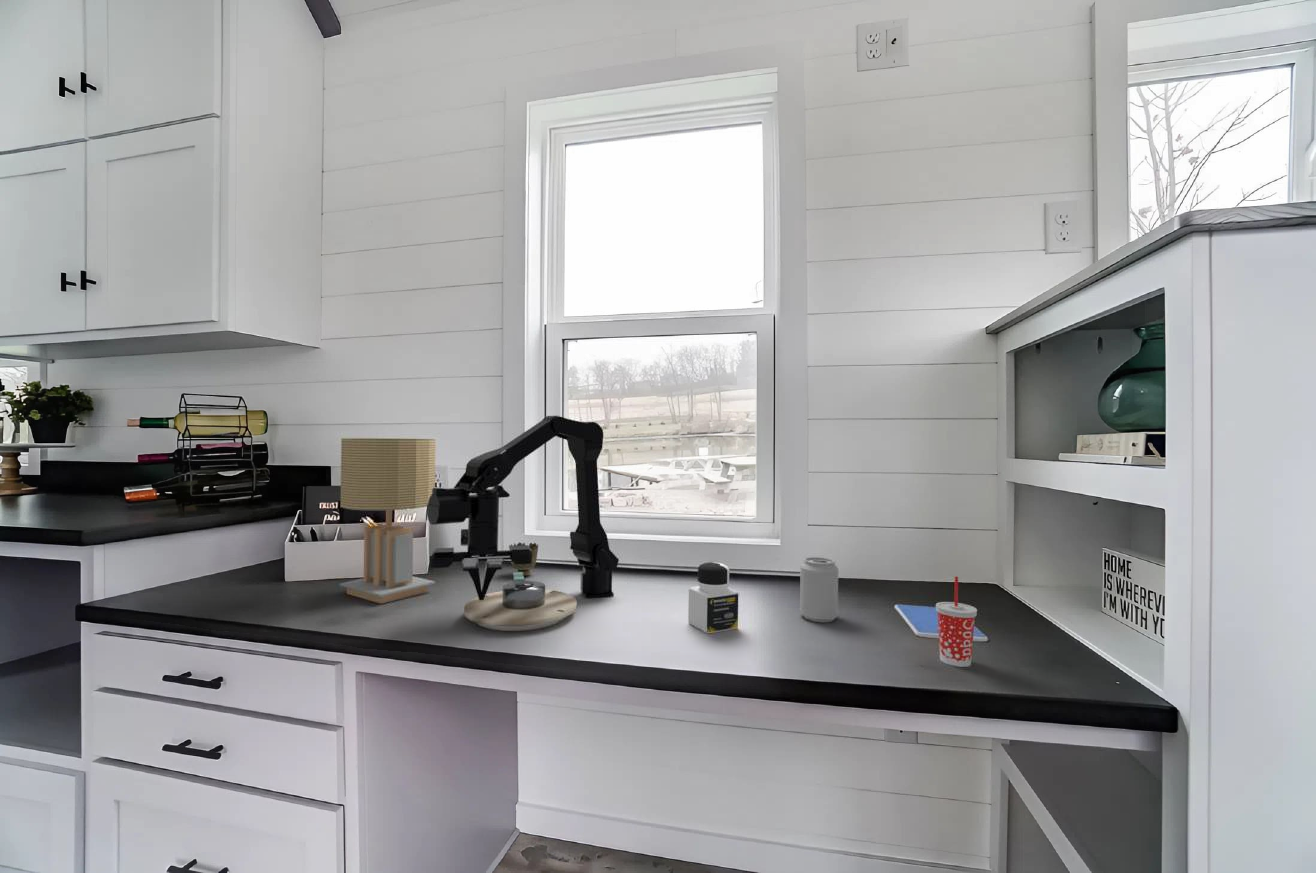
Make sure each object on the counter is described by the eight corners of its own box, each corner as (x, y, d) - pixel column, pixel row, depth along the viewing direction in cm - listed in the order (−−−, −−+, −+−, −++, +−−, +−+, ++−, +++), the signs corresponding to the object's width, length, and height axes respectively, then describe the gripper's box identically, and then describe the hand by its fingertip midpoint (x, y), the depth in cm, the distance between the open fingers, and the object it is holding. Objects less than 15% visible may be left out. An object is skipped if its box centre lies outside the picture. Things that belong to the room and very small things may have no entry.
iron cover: (553, 601, 117) (553, 581, 117) (525, 612, 109) (525, 591, 109) (522, 595, 121) (522, 576, 121) (493, 605, 113) (493, 585, 113)
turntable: (597, 602, 120) (597, 583, 120) (527, 634, 100) (527, 611, 100) (517, 588, 130) (517, 570, 130) (439, 614, 111) (439, 593, 111)
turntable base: (560, 600, 126) (560, 593, 126) (573, 626, 109) (573, 618, 109) (474, 606, 121) (474, 599, 121) (474, 634, 104) (474, 627, 104)
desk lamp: (451, 590, 133) (453, 439, 133) (371, 610, 117) (373, 439, 117) (401, 578, 144) (403, 438, 144) (321, 595, 127) (323, 438, 127)
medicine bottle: (707, 634, 106) (707, 569, 106) (687, 623, 112) (688, 562, 112) (738, 629, 109) (739, 566, 109) (717, 618, 115) (718, 559, 115)
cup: (541, 572, 152) (542, 542, 152) (532, 579, 144) (533, 547, 144) (514, 571, 152) (514, 541, 152) (504, 578, 145) (504, 546, 145)
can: (840, 615, 118) (840, 557, 118) (835, 625, 111) (835, 564, 111) (803, 610, 121) (804, 553, 121) (796, 620, 115) (797, 560, 115)
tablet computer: (893, 608, 125) (893, 602, 125) (955, 613, 123) (955, 607, 123) (916, 639, 106) (916, 632, 106) (990, 645, 104) (990, 637, 104)
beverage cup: (947, 668, 91) (948, 581, 91) (927, 654, 97) (928, 572, 97) (984, 668, 92) (986, 581, 92) (962, 654, 98) (963, 572, 98)
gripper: (528, 514, 123) (526, 587, 123) (435, 516, 117) (433, 592, 117) (533, 521, 113) (531, 601, 112) (431, 523, 107) (429, 607, 107)
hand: (481, 599), depth 113 cm, fingers closed
